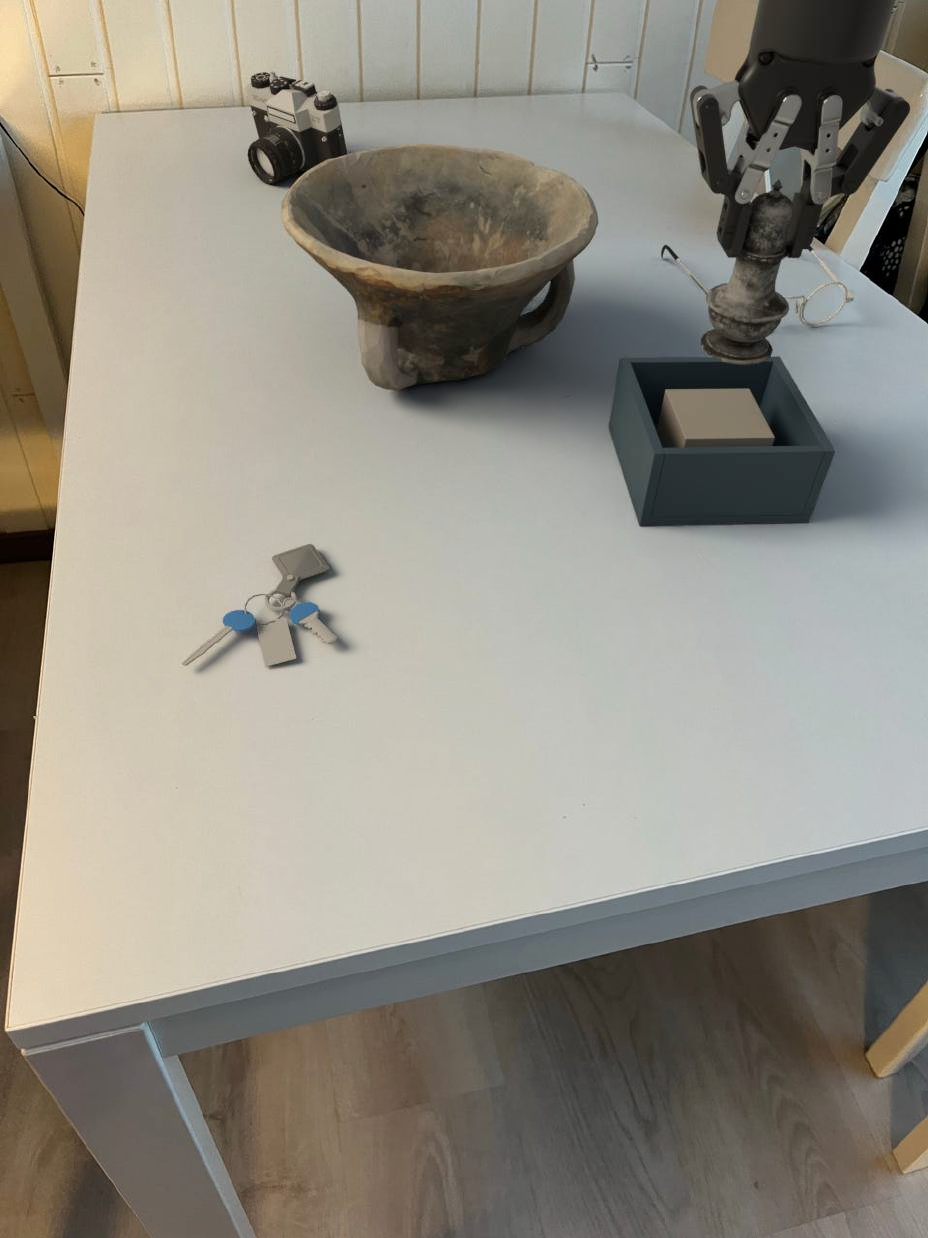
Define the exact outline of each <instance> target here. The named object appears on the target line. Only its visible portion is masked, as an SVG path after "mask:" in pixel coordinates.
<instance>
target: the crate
mask: <svg viewBox="0 0 928 1238" xmlns="http://www.w3.org/2000/svg"><path fill="white" fill-rule="evenodd" d="M666 389H750V391H751V393H752V395H753V397H754V399H755V401H756V402H757V404H758V406H759V408H760V410H761V412H762V414H763V416H764V418H765V420H766V422H767V424H768V425H769V427H770V429H771V431H772V433H773V435H774V437H775V439H774V442H773V445H772V446H756V447H685V448H662V445H661V442H660V440H659V437H658V434H657V428H658V423H659V418H660V414H661V409H662V404H663V399H664V394H665V390H666ZM607 428H608V430H609V431H608V432H609V433H610V436H611V441H612V443H613V447H614V449H615V453H616V456H617V460H618V462H619V465H620V469H621V472H622V475H623V478H624V481H625V484H626V488H627V491H628V494H629V497H630V500H631V504H632V507H633V510H634V514H635V517H636V520H637V523H638V526H639V527H655V526H656V527H657V526H658V527H659V526H662V527H663V526H665V527H666V526H704V525H705V526H709V525H710V526H711V525H712V526H714V525H755V524H757V525H758V524H761V525H762V524H763V525H765V524H806V523H810V521H811V518H812V515H813V513H814V511H815V508H816V506H817V502H818V500H819V498H820V494H821V492H822V490H823V486H824V483H825V481H826V480H827V479H826V478H827V476H828V474H829V470H830V467H831V465H832V462H833V460H834V457H835V455H836V449H835V448H834V446H833V444H832V443H831V441H830V439H829V437H828V436H827V434H826V433H825V431H824V429H823V427H822V426H821V424H820V422H819V420H818V419H817V417H816V415H815V414H814V412H813V411H812V409H811V407H810V406H809V404H808V402H807V400H806V399H805V396H804V395H803V393H802V392H801V390H800V388H799V386H798V385H797V383H796V382H795V380H794V378H793V376H792V375H791V373H790V371H789V369H788V368H787V366H786V365H785V363H784V361H783V360H782V357H781V356H779V355H778V356H777V355H776V356H773V355H771V357H770V358H769V359H767V360H766V361H764V362H761V363H758V364H753V365H738V364H731V363H727V362H723V361H720V360H718V359H715V358H714V357H712V356H669V357H668V356H665V357H664V356H661V357H660V356H659V357H658V356H657V357H656V356H655V357H650V356H649V357H648V356H646V357H645V356H643V357H639V356H638V357H637V356H636V357H635V356H634V357H631V356H630V357H619V359H618V365H617V372H616V378H615V383H614V390H613V395H612V402H611V408H610V414H609V420H608V425H607Z"/></svg>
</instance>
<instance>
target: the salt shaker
mask: <svg viewBox="0 0 928 1238" xmlns="http://www.w3.org/2000/svg"><path fill="white" fill-rule="evenodd" d="M771 187H772V190H769V191H768V192H763V193H760V194H758V195H756V196H755V197H754V198H752V200H751V201H750V202H751V203H752V204H753V208H752V212H751V216H750V220H749V224H748V228H747V232H746V236H745V240H744V244H743V248H742V252H741V256H740V257H739V258H735V261H734V265H733V269H732V273H731V276H730V278H729V280H728V282H726V283H720V284H718V285H714V286H713V287H712V288H710V289H709V290H708V293H707V295H706V294H705V301H706V303H707V305H708V307H707V312H708V318H709V322H710V325H711V326H712V327H713V329H710V330H707V331H706V332H705V333H703V335H702V336H701V337H700V347H701V349H702V350H703V351H704V353H706V354H707V355H709V357H714V358H715V359H718V360H720V361H723V362H727V363H731V364H738V365H753V364H758V363H761V362H764V361H766V360H767V359H769V358H770V357H771V356H772V354H773V346H772V344H771V342H770V341H769V340H768V339H767V338H768V337H769V336H771V335H772V334H773V333H775V331H776V330H777V328H778V327H779V325H780V323H781V322H782V320H783V318H785V317H786V316H787V315H788V313H789V311H790V304H789V301H788V300H787V299H785V298H784V297H783V296H784V295H782V294H781V293H780V292H777V291H776V283H777V278H778V273H779V270H780V266H781V263H782V261H783V260H784V259H786V258H788V257H787V255H788V251H787V249H786V248H785V246H784V244H785V241H786V237H787V233H788V230H789V226H790V222H791V219H792V215H793V210H794V207H793V204H792V201H793V200H791V199H790V198H789V197H788V196H786V195H785V194H783V192H781V189H783V188H784V186H783V185H782V182H781V180H780V179H777V180H776V181H775V182H774V183H773V184H772V185H771Z"/></svg>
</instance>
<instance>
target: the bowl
mask: <svg viewBox="0 0 928 1238" xmlns="http://www.w3.org/2000/svg"><path fill="white" fill-rule="evenodd" d="M347 154H348V155H345V156H341V157H338V158H333V159H328V160H325V161H324V162H322V163H320V164H318V165H317V166H315V167H313V168H311V169H310V170H308V171H307V172H303V174H302V175H301V176H300V177H298V178H297V179H296V180H295V182H294V183H293V184H292V185H291V187H290V188H289V189H288V190H287V192H286V193H285V195H284V197H283V198H282V201H281V208H280V219H281V221H282V224H283V227H284V229H285V231H286V232H287V233H288V235H289V236H290V237H291V238H292V240H293V241H294V242H295V243H296V245H298V246H299V247H300V248H301V249H302V250H303V251H304V252H305V253H307V254H308V256H310V257H311V258H312V259H313V260H314V261H315V263H317V265H319V266H320V267H321V268H323V269H324V270H325V271H327V273H329V274H330V275H331V276H332V277H333V278H334V279H335V280H336V281H337V282H338V283H339V284H340V285H341V286H342V287H343V288H344V289H345V290H346V291H347V292H348V294H350V296H351V297H352V299H353V301H354V303H355V306H356V307H355V308H356V311H357V335H358V336H357V337H358V338H357V339H358V344H359V345H358V346H359V352H360V359H361V365H362V366H363V368H364V371H365V373H366V375H367V378H368V380H369V381H370V382H371V383H372V384H373V385H374V386H376V387H378V388H381V389H383V390H389V391H399V390H402V389H405V388H408V387H411V386H416V385H426V384H434V383H439V382H440V383H441V382H448V381H459V380H465V379H468V378H471V377H473V376H481V375H486V374H488V373H490V372H492V371H494V370H495V369H497V368H498V367H500V366H501V365H502V364H504V363H505V361H506V360H507V358H508V355H509V353H511V352H514V351H517V350H521V349H524V348H527V347H530V346H534V345H536V344H538V343H540V342H542V341H543V340H544V339H546V338H547V337H548V336H549V335H550V334H551V333H552V332H554V331H555V330H556V329H557V327H558V326H559V324H560V323H561V322H562V320H563V319H564V317H565V314H566V311H567V309H568V306H569V304H570V301H571V298H572V294H573V290H574V286H575V280H576V275H575V264H574V259H576V258H577V257H578V256H579V255H580V254H581V253H583V252H584V250H586V248H587V247H588V245H590V243H592V240H593V238H594V237H595V234H596V233H597V227H598V226H599V213H598V210H597V207H596V205H595V202H594V200H593V198H592V196H591V195H590V193H589V192H588V191H587V190H586V188H585V187H583V186H582V185H581V184H580V183H578V181H576V179H574V178H573V177H571V176H570V175H568V174H566V173H564V172H561V171H559V170H555V169H553V168H552V169H551V168H548V167H545V166H543V165H540V164H538V163H536V162H533V161H531V160H529V159H527V158H525V157H522V156H520V155H517V154H516V155H515V154H513V153H510V152H509V153H508V152H504V151H502V150H495V149H489V148H479V147H478V148H477V147H476V148H475V147H468V146H467V147H466V146H458V145H448V144H433V143H407V144H400V145H393V146H382V147H377V148H372V149H367V150H366V149H365V150H360V151H356V152H351V153H347ZM548 284H549V286H548V291H547V293H546V295H545V297H544V299H543V300H542V302H541V303H540V304H539V305H538V306H537V307H536V308H534V309H532V310H531V311H528V312H525V313H523V312H524V310H525V308H527V306H528V305H530V303H531V302H532V301H533V300H534V298H536V297H537V296H538V294H540V292H541V291H542V290H543V289H544V288H545V287H546V286H547V285H548ZM522 313H523V314H522Z"/></svg>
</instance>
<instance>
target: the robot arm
mask: <svg viewBox="0 0 928 1238" xmlns="http://www.w3.org/2000/svg"><path fill="white" fill-rule="evenodd" d="M896 1H897V0H758V3H757V8H756V14H755V18H754V22H753V26H752V31H751V35H750V43H749V47H748V53H747V55H746V58H745V60H744V61H743V63H742V65H741V66H740V67H739V69H738V70H737V71H736V74H735V76H734V79H733V80H731V81H728V82H724V83H723V84H720V85H717V86H715V87H712V88H708V87H707V86H705V85H702V84H700V85H697V86H695V87H694V88H693V89H692V90H691V92H690V94H689V102H690V109H691V114H692V116H691V117H692V121H693V128H694V135H695V141H696V146H697V155H698V163H699V168H700V174H701V177H702V179H703V180H704V182H705V183H706V184H707V185H708V188H709V189H710V190H711V192H712V193H713V194H716V195H723V197H724V198H723V202H722V207H721V211H720V215H719V220H718V225H717V229H716V239H717V242H718V243H719V245H720V246H721V248H722V250H723V252H724V253H725V255H726V257H727V258H729V259H736V258H739V257H740V256H741V252H742V248H743V244H744V240H745V236H746V232H747V228H748V224H749V220H750V216H751V212H752V208H753V204H752V203H751V202H752V200H753V199H754V198H753V197H754V196H755V193H756V192H757V189H758V187H759V185H760V183H761V180H762V178H763V176H764V175H765V173H766V171H769V170H770V169H771V167H772V165H773V163H774V161H775V159H776V156H777V154H778V152H779V151H783V150H787V149H790V148H798V149H799V153H800V157H801V158H800V159H801V163H800V164H801V166H800V181H799V182H800V190H799V192H794V193H793V198H792V200H791V201H792V204H793V207H794V210H793V215H792V219H791V222H790V226H789V230H788V233H787V237H786V241H785V244H784V246H785V248H786V249H787V251H788V255H787V257H786V258H787V259H799V258H801V256H802V254H803V250H808V248H809V246H811V245H812V243H813V241H814V238H815V234H816V231H817V227H818V224H819V221H820V217H821V215H822V210H823V207H824V205H825V203H826V202H827V201H829V199H830V198H833V197H835V196H838V195H841V194H843V195H845V196H851V195H853V194H855V193H856V192H857V191H858V190H859V189H860V187H861V186H862V184H863V183H864V181H865V180H866V178H867V177H868V175H869V174H870V172H871V171H872V169H873V167H874V166H875V165H876V163H877V162H878V160H879V159H880V158H881V156H882V155H883V153H884V151H885V150H886V148H887V147H888V146H889V144H890V143H891V141H893V138H894V137H895V135H897V133H898V131H899V129H900V128H901V127H902V125H903V123H904V122H905V120H906V119H907V117H908V116H909V114H910V113H911V112H910V111H911V105H910V103H909V101H907V100H906V99H905V98H904V97H902V96H901V94H899V93H898V92H896V91H894V90H893V89H892V88H882V87H880V86H878V85H877V77H876V72H875V64H876V60H877V58H878V55H879V54H880V52H881V50H882V48H883V43H884V40H885V37H886V34H887V31H888V27H889V24H890V21H891V17H892V15H893V11H894V7H895V4H896ZM738 102H739V105H740V107H741V109H742V111H743V114H744V116H745V119H746V121H747V123H746V126H745V128H744V129H743V132H742V134H741V137H740V139H739V141H738V144H737V153H736V156H735V158H734V160H733V162H732V164H731V167H730V168H728V162H727V155H726V148H725V140H724V139H725V138H724V131H723V127H724V126H726V125H727V124H728V123H729V122H730V120H731V117H732V109H733V107H734V106H735V104H736V103H738ZM859 111H860V114H859V119H860V122H859V124H858V125H857V127H856V129H854V131H853V133H852V134H851V136H850V138H849V139H848V141H847V142H846V144H845V145H844V147H843V149H842V150H841V151H840V153H839V154H838V146H839V145H838V144H839V132H840V131H841V130H842V129H843V128H844V127H845V126H846V125H847V123H848V122H849V121H850V120H851V119H852V118H853V117H854V116H855V115H856V114H857V113H858V112H859Z"/></svg>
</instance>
